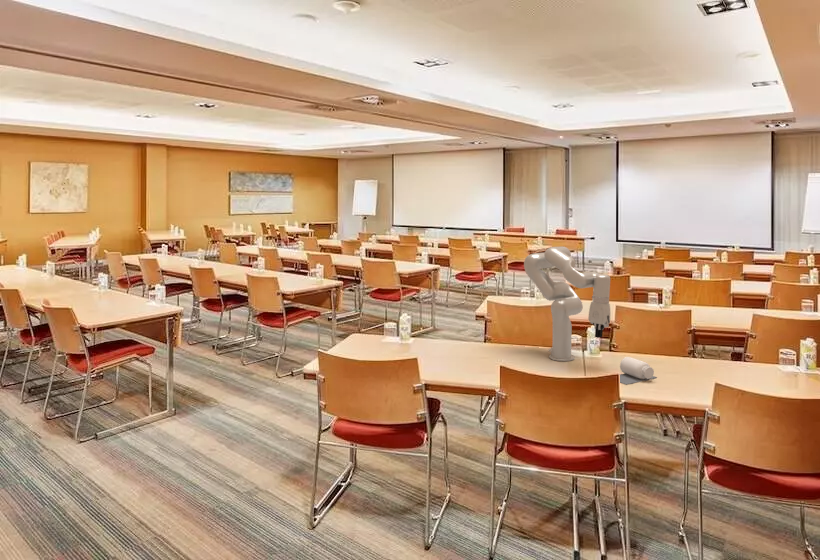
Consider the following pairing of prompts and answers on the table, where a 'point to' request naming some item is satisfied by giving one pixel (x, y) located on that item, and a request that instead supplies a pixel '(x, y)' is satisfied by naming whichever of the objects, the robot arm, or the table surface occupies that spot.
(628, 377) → the mat
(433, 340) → the table surface
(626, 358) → the pill bottle
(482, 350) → the table surface
